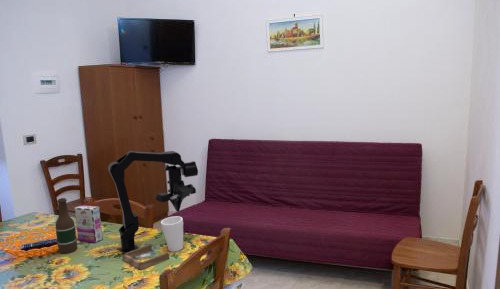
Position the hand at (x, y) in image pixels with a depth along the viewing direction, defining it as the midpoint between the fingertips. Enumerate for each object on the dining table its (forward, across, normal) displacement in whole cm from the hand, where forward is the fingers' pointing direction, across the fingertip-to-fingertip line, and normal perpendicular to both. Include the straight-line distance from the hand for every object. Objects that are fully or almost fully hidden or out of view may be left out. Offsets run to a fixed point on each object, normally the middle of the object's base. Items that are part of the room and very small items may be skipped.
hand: (177, 211), depth 182 cm
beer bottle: (+13, -40, +29) cm, 51 cm away
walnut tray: (+13, -22, -8) cm, 27 cm away
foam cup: (+13, -8, -9) cm, 18 cm away
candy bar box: (+13, -28, +33) cm, 45 cm away
